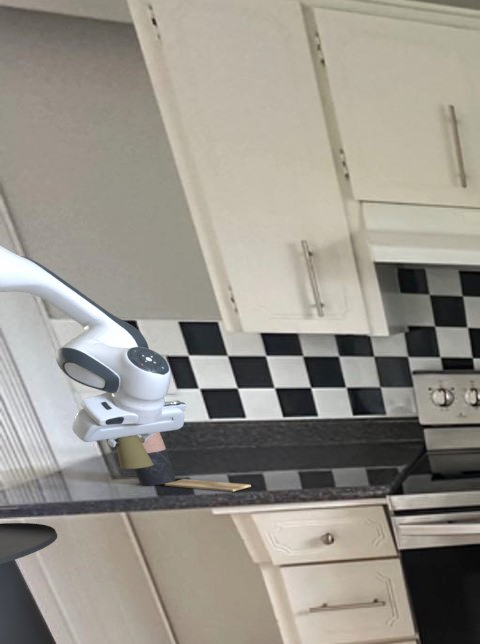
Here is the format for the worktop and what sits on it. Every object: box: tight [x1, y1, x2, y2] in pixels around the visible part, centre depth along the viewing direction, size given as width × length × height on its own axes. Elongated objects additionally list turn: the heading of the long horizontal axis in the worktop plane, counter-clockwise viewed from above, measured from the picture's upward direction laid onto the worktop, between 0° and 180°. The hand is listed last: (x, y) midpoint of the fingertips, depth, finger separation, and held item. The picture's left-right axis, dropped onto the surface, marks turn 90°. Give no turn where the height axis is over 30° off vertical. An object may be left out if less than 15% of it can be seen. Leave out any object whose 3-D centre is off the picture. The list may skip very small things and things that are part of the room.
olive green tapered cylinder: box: [116, 435, 154, 470], centre depth 162 cm, size 6×6×11 cm
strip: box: [164, 478, 252, 493], centre depth 174 cm, size 5×22×1 cm, turn 79°
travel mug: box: [133, 432, 177, 486], centre depth 173 cm, size 8×8×20 cm
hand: (126, 442), depth 162 cm, fingers closed on olive green tapered cylinder, 4 cm apart
